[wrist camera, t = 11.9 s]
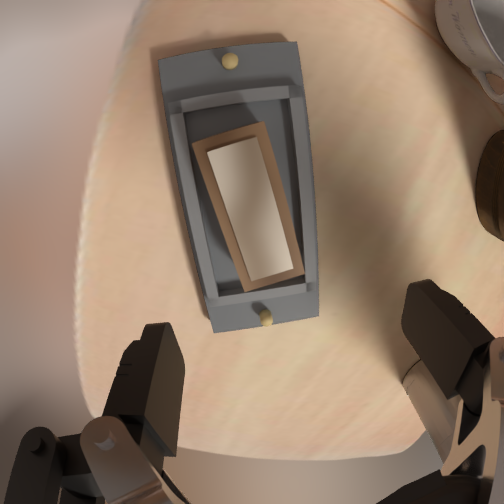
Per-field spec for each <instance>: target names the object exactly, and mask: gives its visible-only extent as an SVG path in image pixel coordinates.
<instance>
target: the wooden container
mask: <svg viewBox="0 0 504 504" xmlns="http://www.w3.org/2000/svg"><path fill="white" fill-rule="evenodd" d="M476 202H477V210H478V215H479V219H480V221H481V224H482V225H483V227H484V228H485V229H486V230H487V231H488V232H489V233H491V234H492V235H494V236H495V237H497V238H499V239H500V240H502V241H504V130H502V131H499V132H497V133H496V134H495V135H494V136H493V137H492V138H491V139H490V141H489V142H488V144H487V146H486V148H485V150H484V153H483V155H482V158H481V161H480V165H479V170H478V176H477V183H476Z"/></svg>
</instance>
